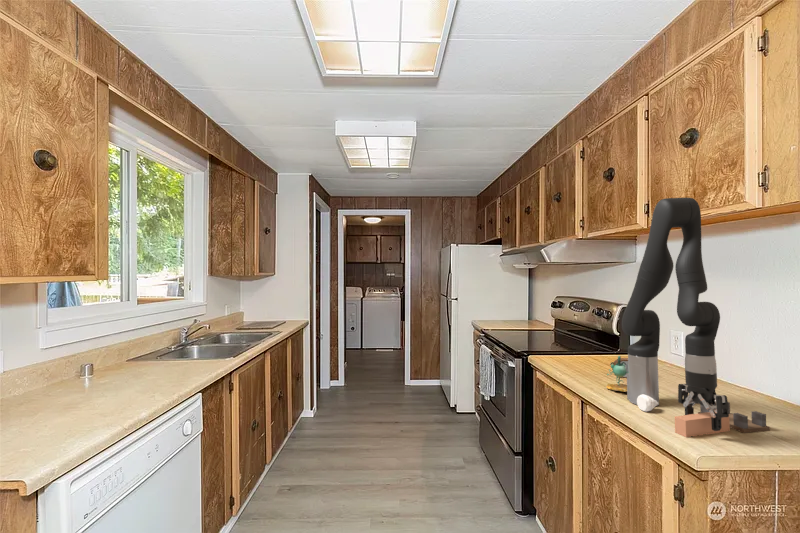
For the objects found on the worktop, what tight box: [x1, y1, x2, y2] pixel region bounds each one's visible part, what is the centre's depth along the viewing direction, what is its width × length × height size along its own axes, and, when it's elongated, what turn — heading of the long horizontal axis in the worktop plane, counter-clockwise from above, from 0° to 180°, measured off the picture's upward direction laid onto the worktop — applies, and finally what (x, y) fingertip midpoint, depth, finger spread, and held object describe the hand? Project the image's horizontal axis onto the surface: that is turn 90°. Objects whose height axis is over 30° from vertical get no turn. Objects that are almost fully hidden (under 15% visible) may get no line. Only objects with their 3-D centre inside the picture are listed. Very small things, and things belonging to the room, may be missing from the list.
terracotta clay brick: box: [674, 412, 731, 438], centre depth 120 cm, size 4×16×5 cm, turn 104°
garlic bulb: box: [637, 394, 659, 413], centre depth 138 cm, size 6×6×5 cm
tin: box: [611, 357, 629, 379], centre depth 179 cm, size 15×3×8 cm, turn 81°
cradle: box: [697, 401, 771, 434], centre depth 126 cm, size 15×9×4 cm, turn 10°
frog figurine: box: [606, 355, 629, 393], centre depth 161 cm, size 10×18×15 cm, turn 175°
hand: (702, 424), depth 119 cm, fingers open, 8 cm apart
